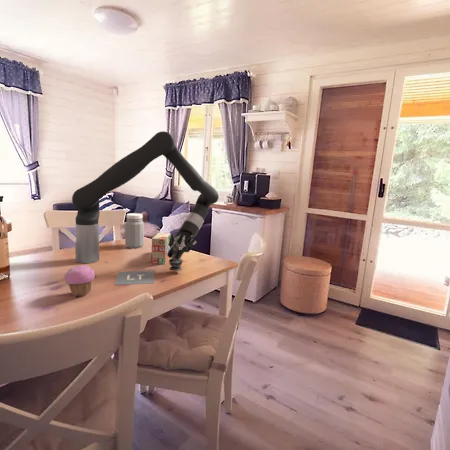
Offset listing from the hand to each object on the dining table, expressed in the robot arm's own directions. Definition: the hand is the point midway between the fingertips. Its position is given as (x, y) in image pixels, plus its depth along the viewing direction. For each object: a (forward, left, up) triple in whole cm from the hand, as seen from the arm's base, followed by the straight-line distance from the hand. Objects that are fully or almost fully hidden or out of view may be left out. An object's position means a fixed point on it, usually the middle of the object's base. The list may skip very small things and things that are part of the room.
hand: (172, 257), depth 120 cm
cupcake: (-32, -17, -7) cm, 37 cm away
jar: (-18, +45, -7) cm, 49 cm away
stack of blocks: (-3, +23, -7) cm, 25 cm away
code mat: (-15, -3, -7) cm, 17 cm away
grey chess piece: (+1, +1, -6) cm, 6 cm away
